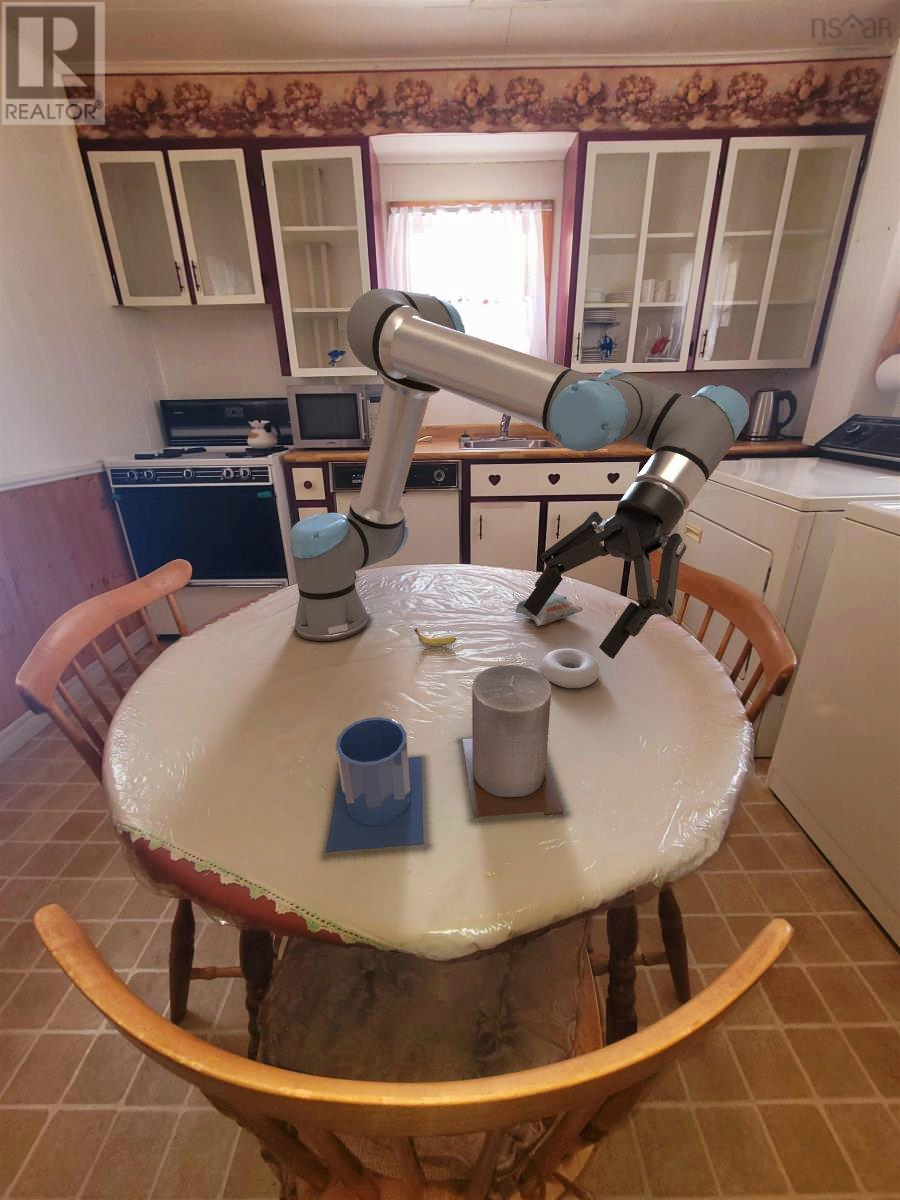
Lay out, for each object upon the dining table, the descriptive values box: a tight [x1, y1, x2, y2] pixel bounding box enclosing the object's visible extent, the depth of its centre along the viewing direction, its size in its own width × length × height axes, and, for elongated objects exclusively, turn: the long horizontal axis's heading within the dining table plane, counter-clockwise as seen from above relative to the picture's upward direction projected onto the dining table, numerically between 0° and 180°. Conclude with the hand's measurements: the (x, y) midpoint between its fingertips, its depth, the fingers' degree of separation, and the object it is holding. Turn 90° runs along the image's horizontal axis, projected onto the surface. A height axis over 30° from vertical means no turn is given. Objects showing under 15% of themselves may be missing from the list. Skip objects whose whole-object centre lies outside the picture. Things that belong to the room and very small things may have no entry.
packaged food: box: [514, 592, 583, 627], centre depth 105 cm, size 9×12×5 cm
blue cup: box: [335, 716, 411, 826], centre depth 59 cm, size 8×8×10 cm
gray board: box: [461, 737, 565, 819], centre depth 65 cm, size 14×11×1 cm
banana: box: [414, 627, 457, 647], centre depth 95 cm, size 8×2×4 cm, turn 88°
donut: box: [540, 648, 600, 689], centre depth 85 cm, size 10×4×10 cm
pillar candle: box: [471, 664, 552, 797], centre depth 61 cm, size 10×10×15 cm
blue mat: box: [325, 756, 425, 853], centre depth 61 cm, size 14×11×1 cm
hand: (564, 630), depth 62 cm, fingers open, 13 cm apart
